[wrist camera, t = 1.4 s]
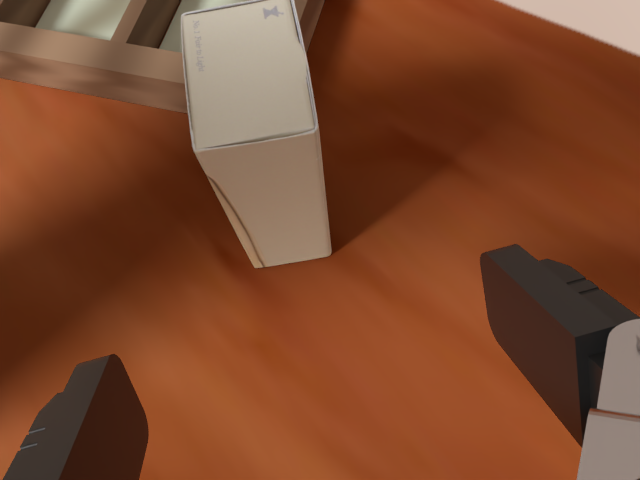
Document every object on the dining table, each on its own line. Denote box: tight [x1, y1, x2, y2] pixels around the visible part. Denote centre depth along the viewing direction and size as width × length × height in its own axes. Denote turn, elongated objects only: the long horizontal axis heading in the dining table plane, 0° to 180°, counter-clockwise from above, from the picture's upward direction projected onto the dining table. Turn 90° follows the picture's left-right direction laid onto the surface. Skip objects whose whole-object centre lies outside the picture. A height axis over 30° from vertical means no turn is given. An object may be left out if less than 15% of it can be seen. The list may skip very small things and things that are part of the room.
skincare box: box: [181, 0, 332, 268], centre depth 25 cm, size 6×4×12 cm
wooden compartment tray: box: [0, 0, 325, 114], centre depth 35 cm, size 20×12×3 cm, turn 75°
